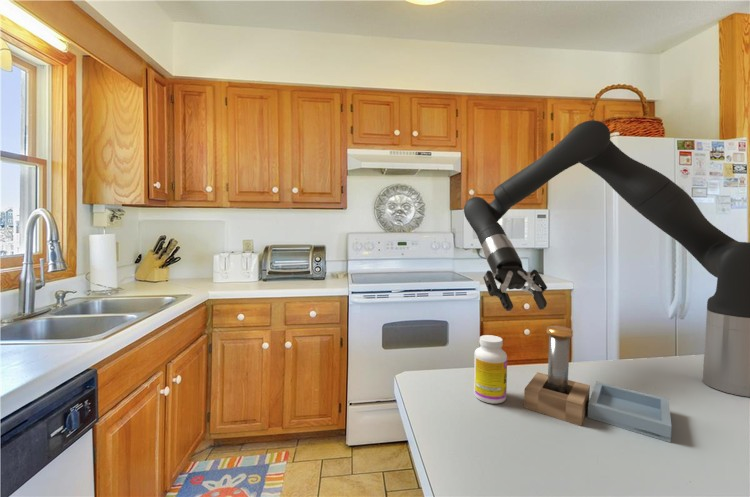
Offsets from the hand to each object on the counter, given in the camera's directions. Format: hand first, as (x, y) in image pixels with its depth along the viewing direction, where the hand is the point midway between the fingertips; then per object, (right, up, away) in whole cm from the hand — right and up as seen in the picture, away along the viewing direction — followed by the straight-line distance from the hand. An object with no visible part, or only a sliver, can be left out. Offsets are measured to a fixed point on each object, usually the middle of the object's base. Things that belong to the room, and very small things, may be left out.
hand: (527, 308), depth 78 cm
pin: (+2, -18, -9) cm, 21 cm away
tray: (+14, -18, -13) cm, 26 cm away
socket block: (+2, -18, -9) cm, 21 cm away
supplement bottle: (-11, -18, -6) cm, 22 cm away
